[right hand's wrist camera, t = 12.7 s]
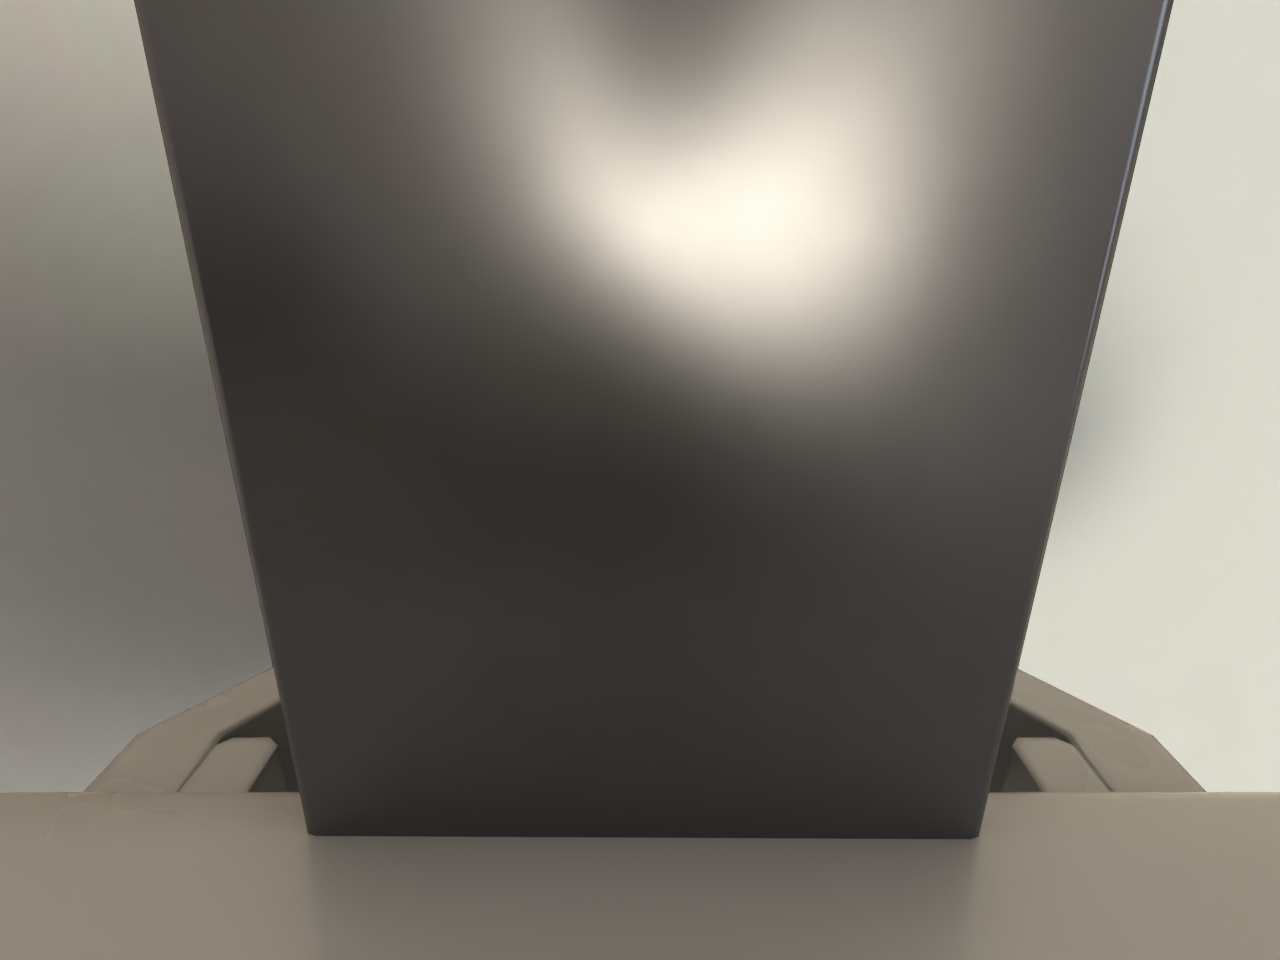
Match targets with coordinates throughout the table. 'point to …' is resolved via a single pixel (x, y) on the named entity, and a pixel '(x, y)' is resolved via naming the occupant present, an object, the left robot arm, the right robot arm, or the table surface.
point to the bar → (649, 388)
